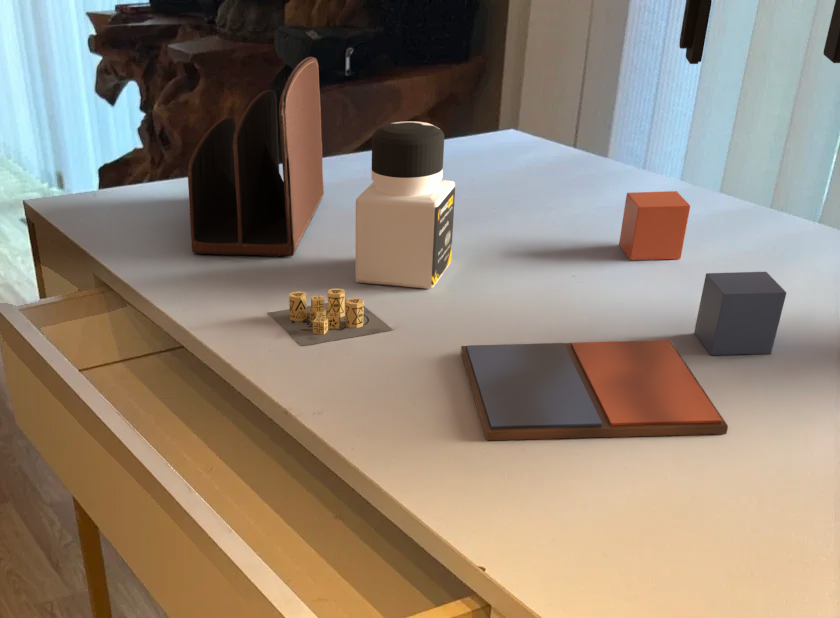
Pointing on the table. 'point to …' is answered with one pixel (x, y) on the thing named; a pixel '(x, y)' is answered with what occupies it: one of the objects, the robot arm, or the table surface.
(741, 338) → the slate-blue block
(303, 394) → the table surface
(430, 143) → the medicine bottle
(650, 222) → the terracotta block
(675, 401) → the sorting board
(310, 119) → the letter holder
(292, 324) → the dice set
